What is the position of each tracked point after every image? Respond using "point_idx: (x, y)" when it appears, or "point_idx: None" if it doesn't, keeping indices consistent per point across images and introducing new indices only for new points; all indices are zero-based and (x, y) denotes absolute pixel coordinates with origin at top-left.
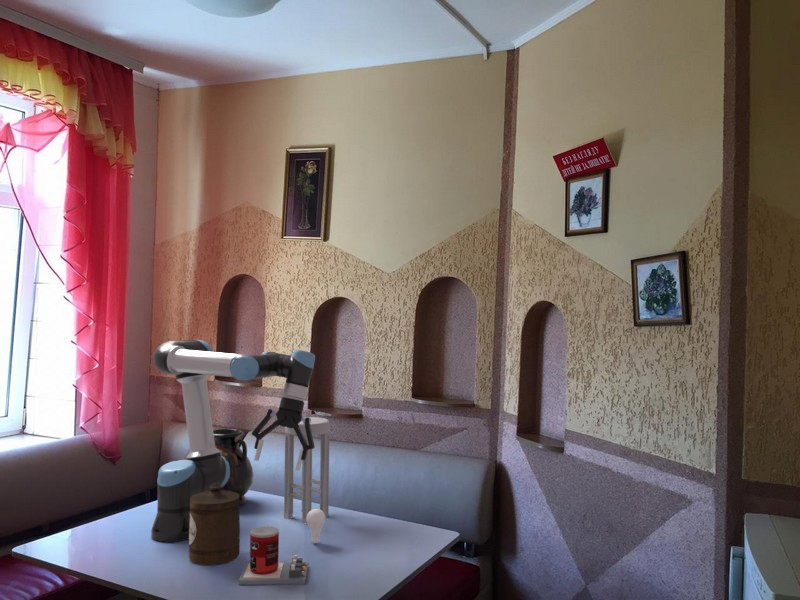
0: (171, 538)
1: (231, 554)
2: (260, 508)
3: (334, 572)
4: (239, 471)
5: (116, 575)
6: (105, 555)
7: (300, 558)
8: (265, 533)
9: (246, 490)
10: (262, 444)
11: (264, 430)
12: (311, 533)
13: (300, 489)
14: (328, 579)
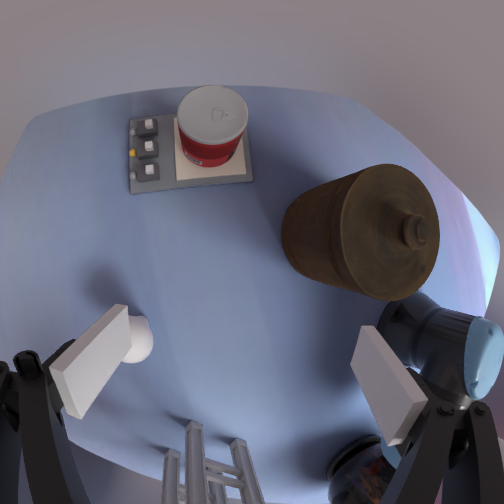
0: None
1: (291, 207)
2: (298, 464)
3: (86, 174)
4: (361, 490)
5: (417, 160)
6: (450, 231)
7: (141, 177)
8: (208, 103)
9: (333, 478)
10: (382, 417)
11: (442, 462)
12: (144, 321)
13: (214, 473)
14: (95, 144)
